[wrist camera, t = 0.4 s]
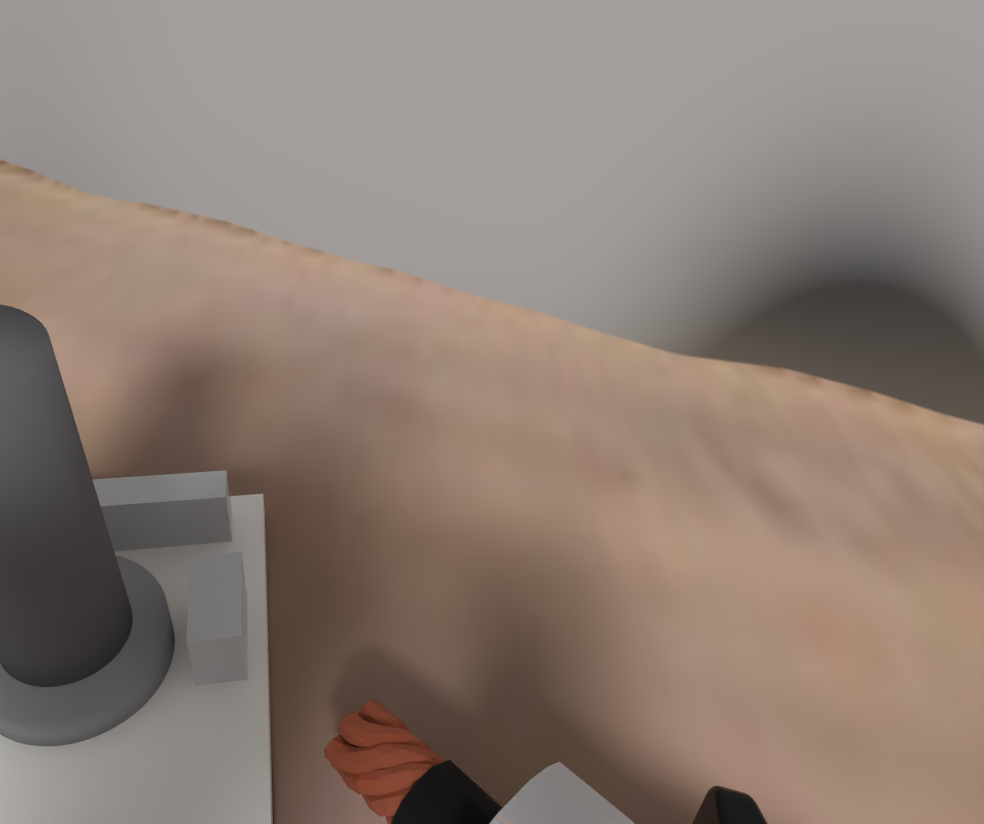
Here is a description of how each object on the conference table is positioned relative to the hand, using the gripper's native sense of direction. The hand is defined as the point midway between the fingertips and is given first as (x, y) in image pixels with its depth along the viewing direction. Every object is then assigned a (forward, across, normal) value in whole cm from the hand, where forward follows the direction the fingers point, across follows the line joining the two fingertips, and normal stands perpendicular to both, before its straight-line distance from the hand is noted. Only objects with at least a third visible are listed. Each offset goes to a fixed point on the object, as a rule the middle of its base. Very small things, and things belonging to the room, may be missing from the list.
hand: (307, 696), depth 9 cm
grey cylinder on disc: (+10, +10, +13) cm, 20 cm away
